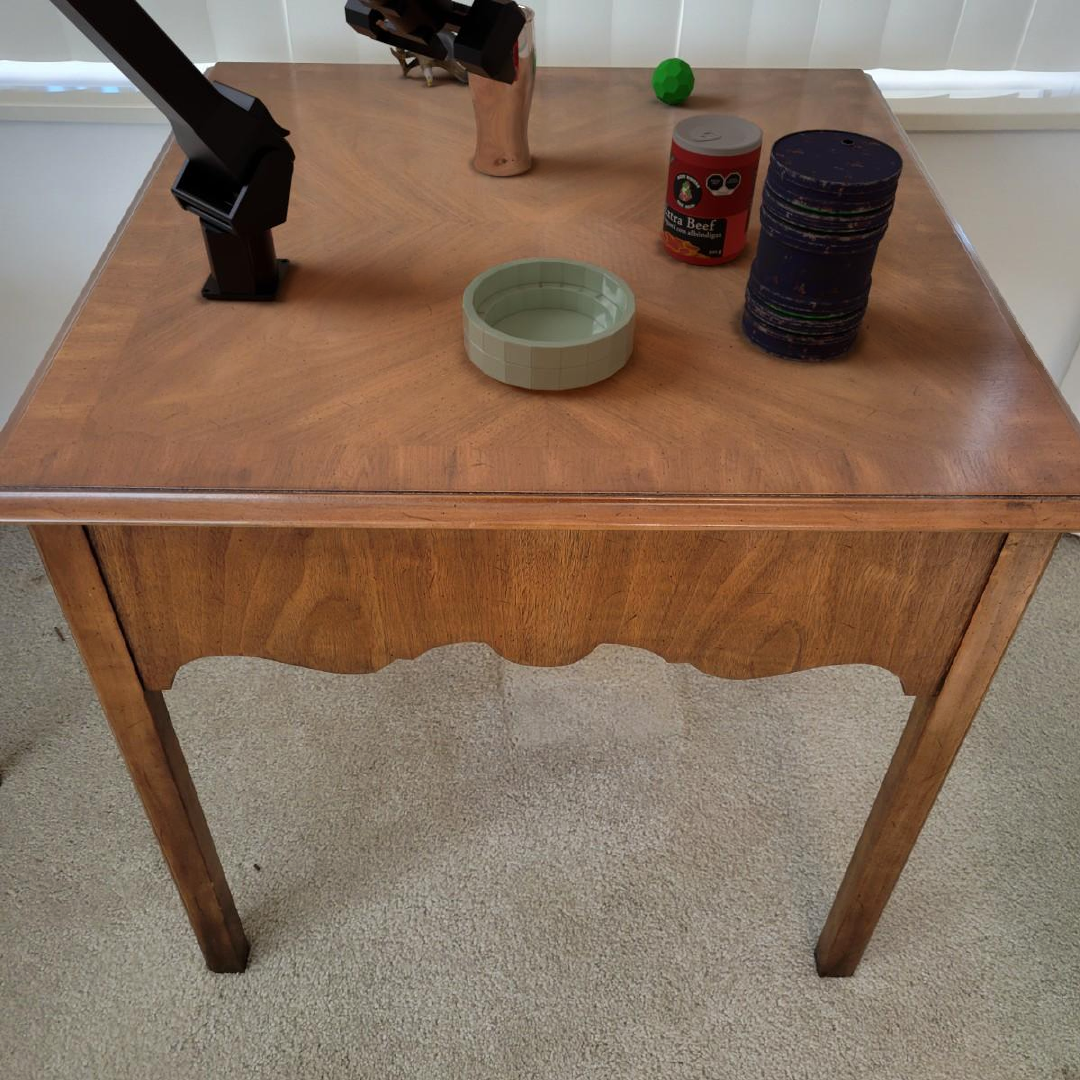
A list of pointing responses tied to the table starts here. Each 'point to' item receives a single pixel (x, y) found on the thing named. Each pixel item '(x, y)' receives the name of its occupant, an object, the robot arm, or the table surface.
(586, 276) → the bowl
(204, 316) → the table surface
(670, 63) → the polyhedron
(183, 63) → the robot arm
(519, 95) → the beer glass
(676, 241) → the canned food
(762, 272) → the dark blue cylinder
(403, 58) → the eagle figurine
